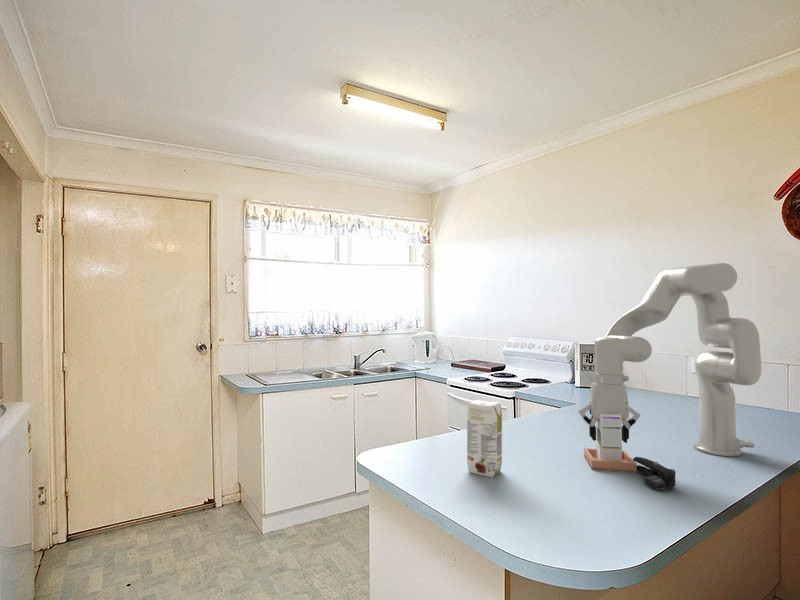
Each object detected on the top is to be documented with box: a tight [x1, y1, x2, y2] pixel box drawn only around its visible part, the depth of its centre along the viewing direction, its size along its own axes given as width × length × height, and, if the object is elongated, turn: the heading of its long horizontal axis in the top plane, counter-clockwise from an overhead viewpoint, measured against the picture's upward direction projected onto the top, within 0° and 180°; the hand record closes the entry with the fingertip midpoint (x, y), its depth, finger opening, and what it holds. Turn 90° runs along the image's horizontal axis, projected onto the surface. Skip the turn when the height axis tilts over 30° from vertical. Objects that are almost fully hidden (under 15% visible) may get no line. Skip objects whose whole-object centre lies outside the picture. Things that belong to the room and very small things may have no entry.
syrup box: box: [596, 414, 623, 462], centre depth 131 cm, size 6×6×14 cm
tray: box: [583, 447, 638, 473], centre depth 131 cm, size 12×12×2 cm
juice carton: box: [466, 399, 503, 478], centre depth 124 cm, size 8×9×19 cm
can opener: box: [632, 456, 677, 490], centre depth 119 cm, size 18×7×6 cm, turn 175°
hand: (608, 440), depth 131 cm, fingers open, 7 cm apart
